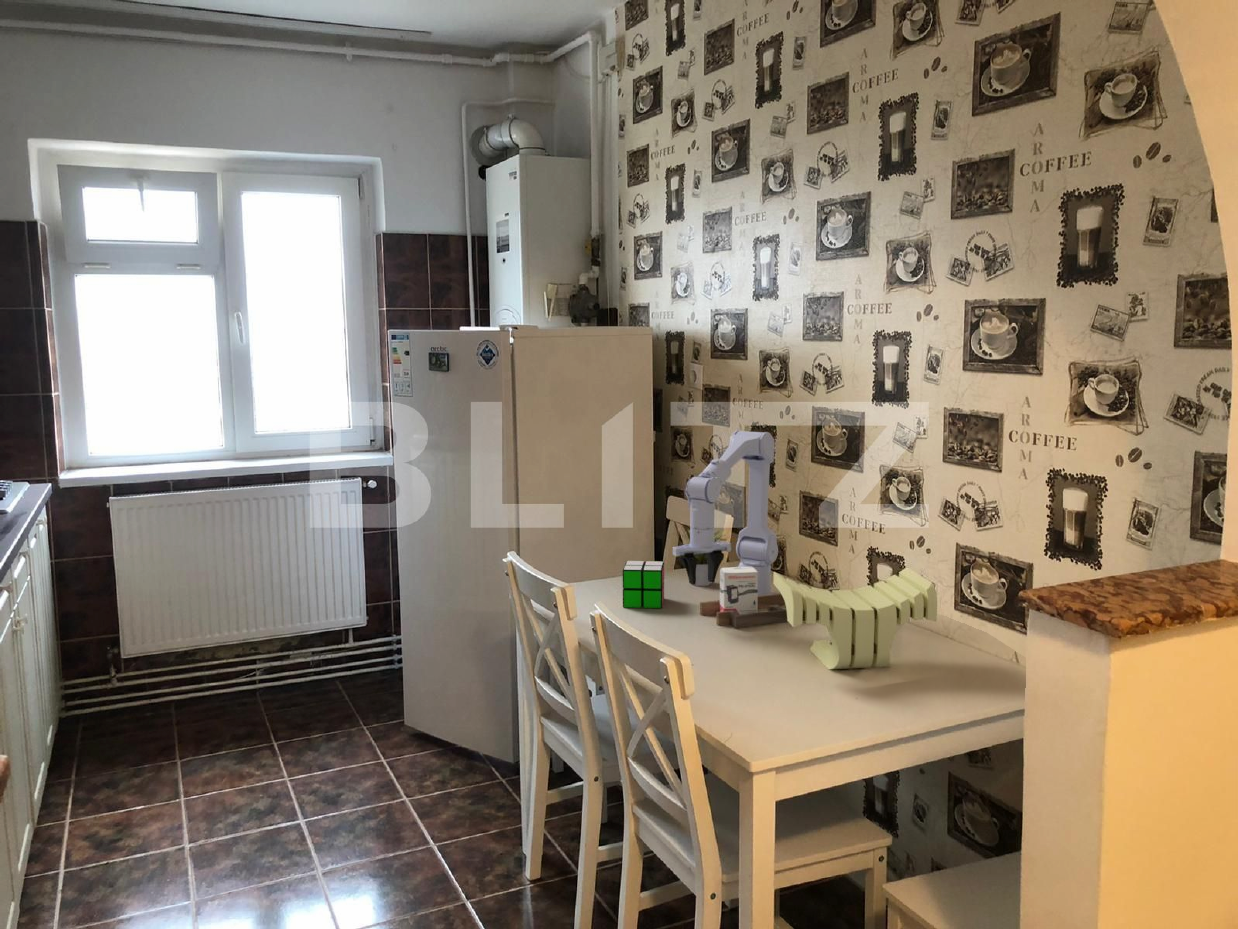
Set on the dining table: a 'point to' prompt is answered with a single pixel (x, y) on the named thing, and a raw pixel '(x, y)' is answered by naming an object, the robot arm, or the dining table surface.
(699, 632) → the dining table surface
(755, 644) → the dining table surface
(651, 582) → the puzzle cube
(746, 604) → the ink box
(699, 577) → the house plant
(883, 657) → the slatted curved stool
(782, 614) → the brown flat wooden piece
